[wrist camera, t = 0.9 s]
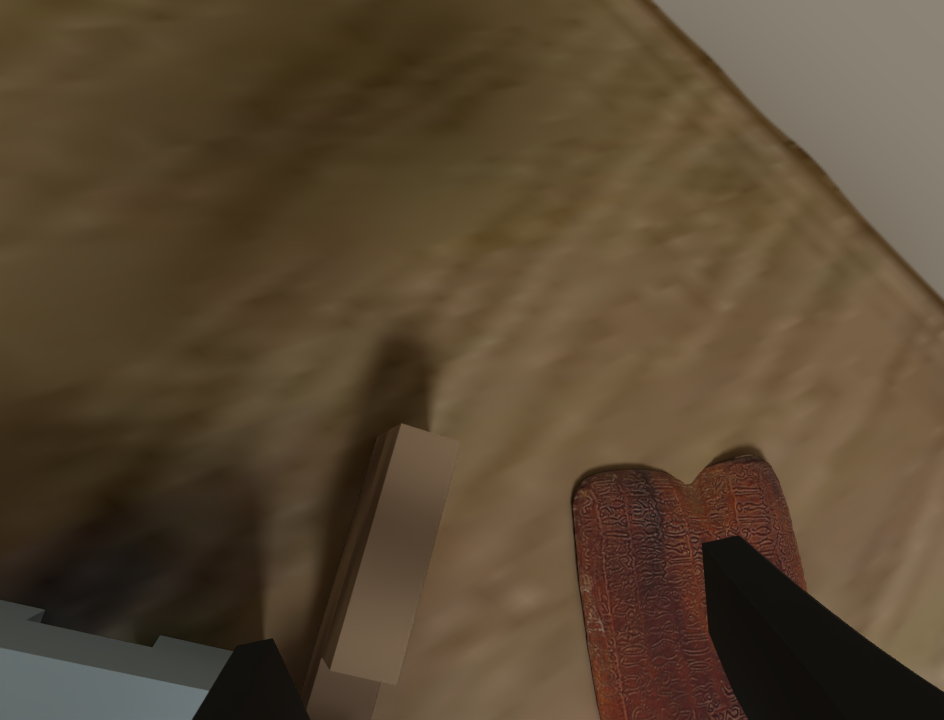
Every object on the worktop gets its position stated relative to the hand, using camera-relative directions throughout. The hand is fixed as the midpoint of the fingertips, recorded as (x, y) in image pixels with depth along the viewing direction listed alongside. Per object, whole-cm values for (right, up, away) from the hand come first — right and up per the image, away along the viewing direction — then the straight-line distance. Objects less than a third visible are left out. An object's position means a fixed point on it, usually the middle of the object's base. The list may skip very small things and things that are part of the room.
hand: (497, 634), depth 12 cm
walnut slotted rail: (-5, -7, +12) cm, 15 cm away
